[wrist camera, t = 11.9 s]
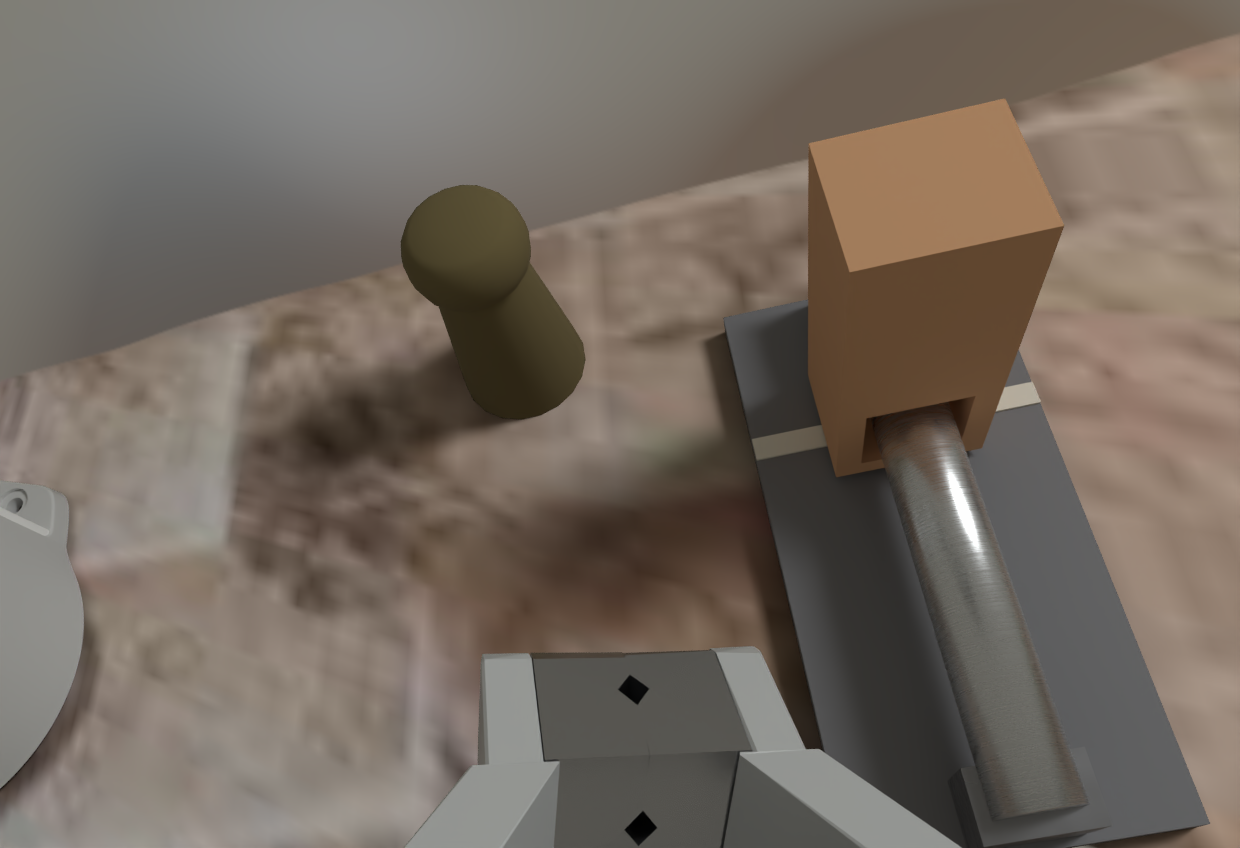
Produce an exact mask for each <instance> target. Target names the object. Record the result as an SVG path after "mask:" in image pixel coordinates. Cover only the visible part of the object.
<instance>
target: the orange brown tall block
mask: <svg viewBox="0 0 1240 848" xmlns="http://www.w3.org/2000/svg"><path fill="white" fill-rule="evenodd" d="M1063 228H1064V224H1063V222H1062V220H1061V218H1060V215H1059V213H1058V211H1057V209H1056V207H1055V205H1054V203H1053V200H1052V198H1051V196H1050V194H1049V192H1048V190H1047V188H1046V185H1045V183H1044V181H1043V179H1042V177H1041V175H1040V173H1039V170H1038V168H1037V166H1036V164H1035V162H1034V160H1033V157H1032V155H1031V153H1030V151H1029V149H1028V147H1027V145H1026V142H1025V140H1024V138H1023V136H1022V134H1021V132H1020V130H1019V127H1018V125H1017V123H1016V121H1015V119H1014V117H1013V115H1012V112H1011V110H1010V108H1009V106H1008V104H1007V102H1006V99H1001V100H996V101H992V102H987V103H983V104H979V105H974V106H970V107H966V108H962V109H957V110H953V111H948V112H944V113H939V114H935V115H931V116H927V117H922V118H918V119H913V120H909V121H905V122H900V123H896V124H891V125H887V126H883V127H878V128H874V129H870V130H865V131H861V132H856V133H852V134H848V135H843V136H839V137H835V138H831V139H826V140H822V141H817V142H813V143H809V183H808V377H809V381H810V384H811V388H812V392H813V395H814V399H815V403H816V406H817V410H818V413H819V417H820V421H821V424H822V428H823V432H824V435H825V439H826V443H827V446H828V450H829V453H830V457H831V461H832V464H833V468H834V472H835V475H836V477H840V476H845V475H850V474H855V473H860V472H865V471H870V470H875V469H881V468H885V467H884V464H883V461H882V457H881V454H880V451H879V447H878V444H877V441H876V438H875V434H874V431H873V428H872V424H871V421H870V418H871V417H876V416H880V415H885V414H890V413H895V412H900V411H905V410H910V409H915V408H920V407H924V406H929V405H934V404H939V403H944V402H949V405H950V407H951V410H952V413H953V416H954V419H955V422H956V424H957V427H958V430H959V433H960V436H961V439H962V441H963V444H964V447H965V450H966V451H971V450H976V449H981V448H982V447H983V444H984V441H985V439H986V436H987V433H988V431H989V428H990V425H991V423H992V420H993V417H994V414H995V412H996V409H997V406H998V404H999V401H1000V398H1001V395H1002V393H1003V390H1004V387H1005V385H1006V382H1007V379H1008V376H1009V374H1010V371H1011V368H1012V366H1013V363H1014V360H1015V358H1016V355H1017V352H1018V349H1019V347H1020V344H1021V341H1022V339H1023V336H1024V333H1025V330H1026V328H1027V325H1028V322H1029V320H1030V317H1031V314H1032V312H1033V309H1034V306H1035V303H1036V301H1037V298H1038V295H1039V293H1040V290H1041V287H1042V284H1043V282H1044V279H1045V276H1046V274H1047V271H1048V268H1049V266H1050V263H1051V260H1052V257H1053V255H1054V252H1055V249H1056V247H1057V244H1058V241H1059V238H1060V236H1061V233H1062V230H1063Z"/></svg>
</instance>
